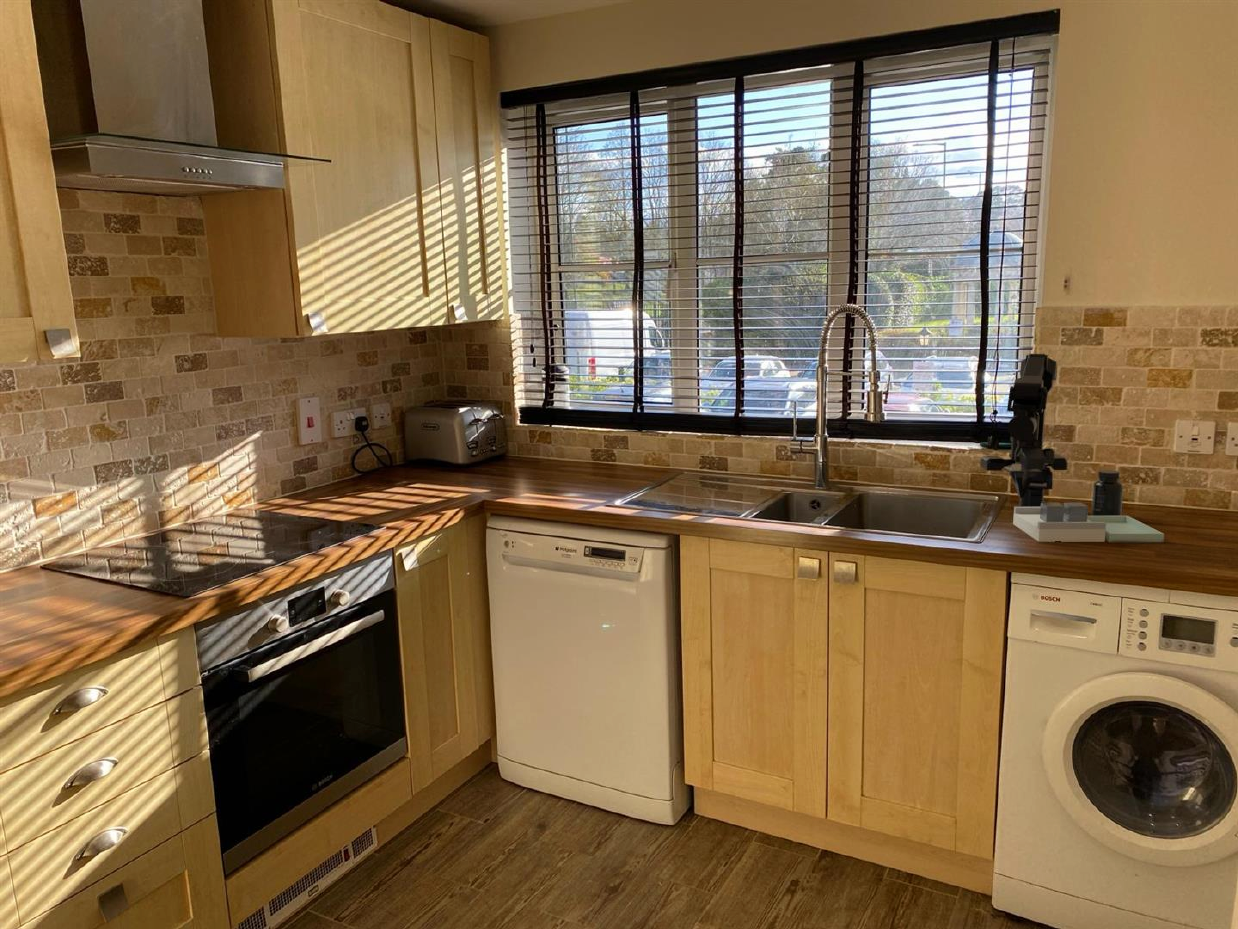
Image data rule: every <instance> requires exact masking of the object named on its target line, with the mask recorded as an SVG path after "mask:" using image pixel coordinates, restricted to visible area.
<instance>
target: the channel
mask: <svg viewBox="0 0 1238 929" xmlns="http://www.w3.org/2000/svg"><path fill="white" fill-rule="evenodd" d="M1040 509H1041V507H1015V506H1013V518H1012V524H1013V526H1014V527H1015V526H1016V528H1018V529H1020V530H1021V531H1022V532H1024V533H1026V535H1028V536H1030V537H1031V538H1032V539H1034V541H1036V542H1038V543H1039V542H1040V543H1043V542H1044V543H1046V542H1049V543H1056V542H1055V541H1061V542H1062V543H1063V542H1067V543H1069V542H1070V543H1072V542H1073V543H1074V542H1076V543H1078V542H1079V543H1080V542H1083V543H1085V542H1086V543H1087V542H1091V543H1092V542H1093V543H1094V542H1095V543H1097V542H1099V543H1100V542H1101V543H1102V542H1103V543H1104V542H1105V541H1106V540H1105V530H1106V523H1105V522H1092V521H1090V520H1088V519H1087V522H1068V521H1066V520H1065V519H1064V520H1063V522H1045V521H1043V520H1041V519H1040ZM1061 542H1060V543H1061Z"/></svg>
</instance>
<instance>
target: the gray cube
mask: <svg viewBox="0 0 1238 929" xmlns="http://www.w3.org/2000/svg"><path fill="white" fill-rule="evenodd" d="M1063 506H1064V519H1065V520H1066V521H1068V522H1087V516H1089V515H1088V512H1089V505H1086V504H1085V503H1082V502H1063Z"/></svg>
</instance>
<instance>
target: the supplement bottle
mask: <svg viewBox="0 0 1238 929" xmlns="http://www.w3.org/2000/svg"><path fill="white" fill-rule="evenodd" d="M1097 475H1098V476H1097V479H1098V480H1096V481H1095V482H1094V483H1093V486H1092V501H1091V502H1092V505H1091V516H1122V512H1123V511H1122V509H1123V493H1124V485H1123V483H1122V482H1120V481H1119V480H1120V472H1119V471H1117V470H1112V469H1111V470H1110V469H1103V470H1098V474H1097Z"/></svg>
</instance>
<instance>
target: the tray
mask: <svg viewBox="0 0 1238 929" xmlns="http://www.w3.org/2000/svg"><path fill="white" fill-rule="evenodd" d="M1087 519H1088V520H1090V521H1092V522H1105V523H1106V530H1105V541H1107V542H1109V543H1165V542H1164V540H1165V533H1164V532H1161V531H1159V530H1157V529H1155V528H1153V527H1151V526H1149V525H1147V524H1145V523H1143V522H1141V521H1139V520H1137V519H1135V518H1133V517H1132V516H1129V515H1121V516H1093V515H1087Z"/></svg>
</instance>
